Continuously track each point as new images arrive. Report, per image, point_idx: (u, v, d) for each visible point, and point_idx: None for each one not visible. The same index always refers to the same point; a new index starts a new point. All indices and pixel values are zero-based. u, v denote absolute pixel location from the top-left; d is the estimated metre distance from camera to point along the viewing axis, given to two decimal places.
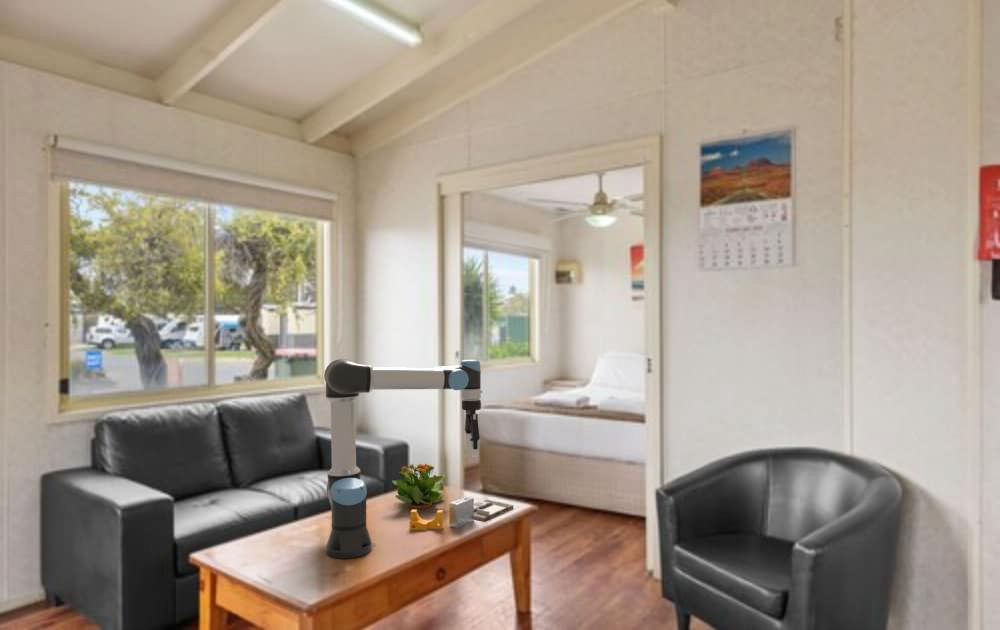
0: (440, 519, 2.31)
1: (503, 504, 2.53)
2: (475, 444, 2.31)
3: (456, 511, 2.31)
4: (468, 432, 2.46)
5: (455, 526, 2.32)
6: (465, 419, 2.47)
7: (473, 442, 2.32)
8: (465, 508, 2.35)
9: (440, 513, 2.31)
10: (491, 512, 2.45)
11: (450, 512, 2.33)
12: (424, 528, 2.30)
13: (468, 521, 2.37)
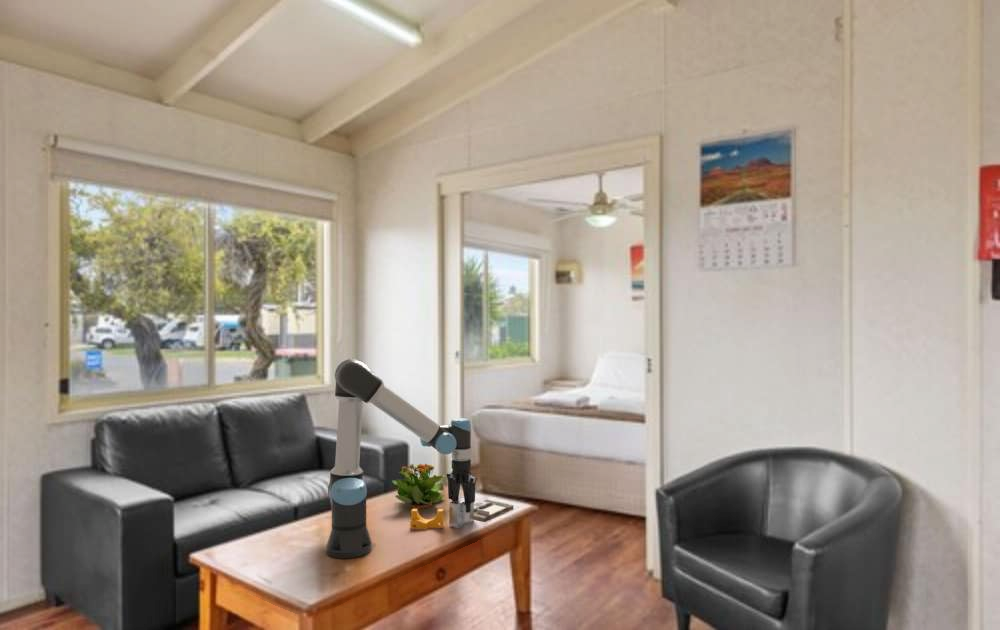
0: (441, 518, 2.32)
1: (503, 504, 2.53)
2: None
3: (456, 511, 2.31)
4: None
5: (455, 526, 2.32)
6: (474, 488, 2.34)
7: None
8: None
9: (441, 512, 2.32)
10: (491, 512, 2.45)
11: (450, 512, 2.33)
12: (425, 527, 2.30)
13: (468, 521, 2.37)
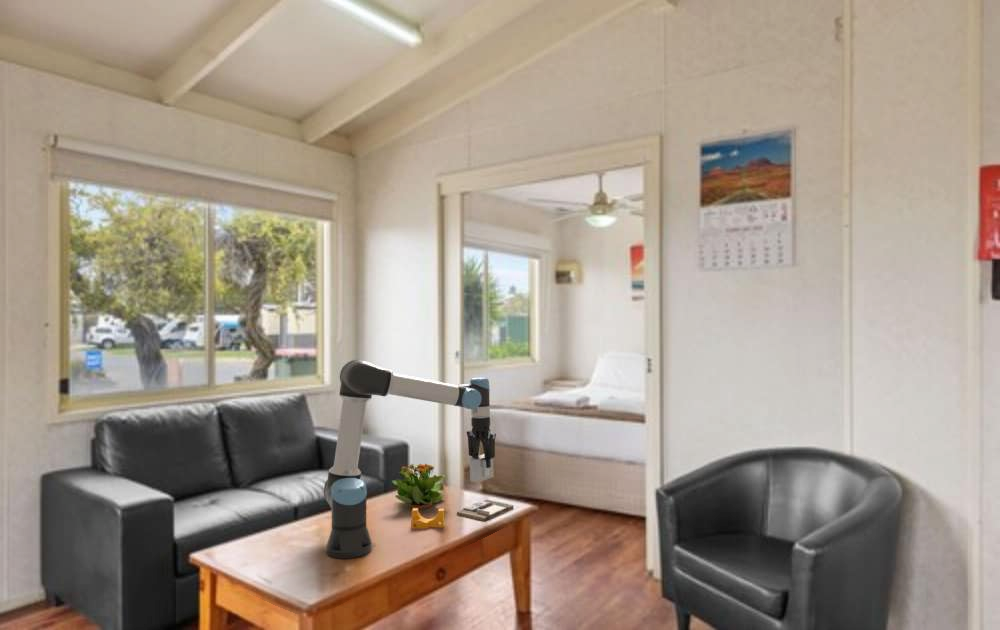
0: (441, 517, 2.33)
1: (503, 504, 2.53)
2: None
3: (476, 466, 2.39)
4: None
5: (476, 480, 2.40)
6: (494, 444, 2.42)
7: None
8: None
9: (441, 511, 2.33)
10: (491, 512, 2.45)
11: (471, 467, 2.41)
12: (425, 527, 2.31)
13: (488, 476, 2.44)
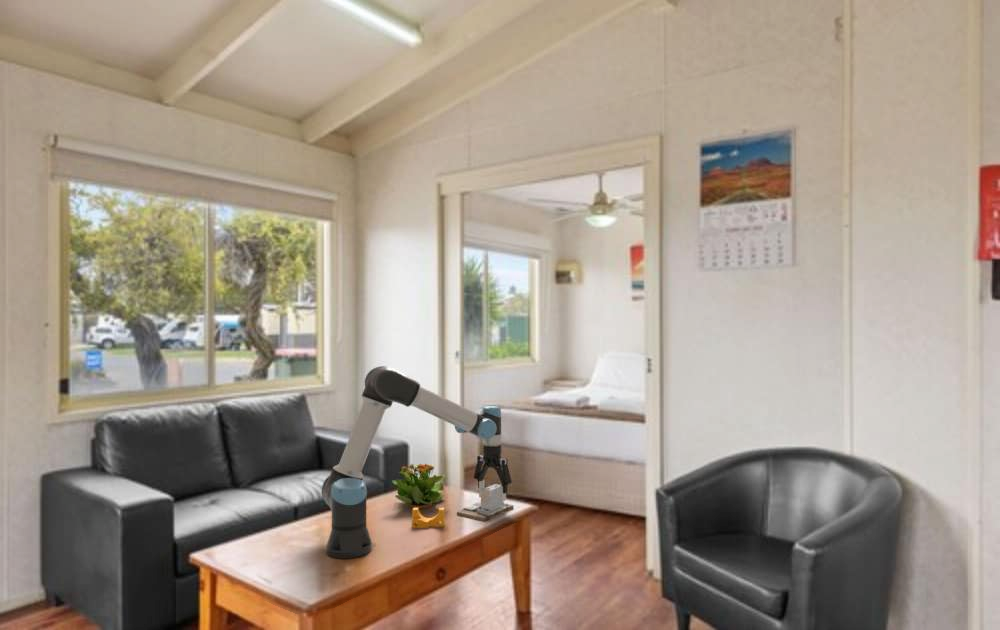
0: (442, 516, 2.34)
1: None
2: None
3: (488, 498, 2.44)
4: None
5: None
6: (508, 470, 2.46)
7: None
8: (495, 495, 2.48)
9: (442, 510, 2.34)
10: None
11: (482, 498, 2.46)
12: (426, 526, 2.32)
13: (498, 507, 2.49)
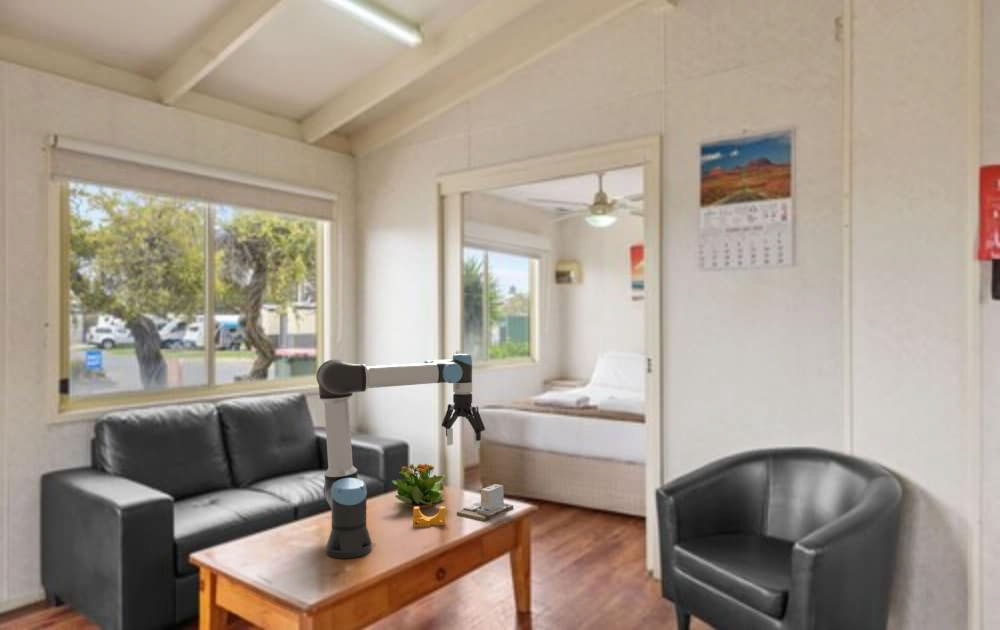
0: (443, 515, 2.35)
1: None
2: None
3: (488, 498, 2.44)
4: None
5: None
6: (480, 417, 2.37)
7: None
8: (495, 495, 2.48)
9: (443, 509, 2.35)
10: None
11: (482, 498, 2.46)
12: (427, 525, 2.34)
13: (498, 507, 2.49)
